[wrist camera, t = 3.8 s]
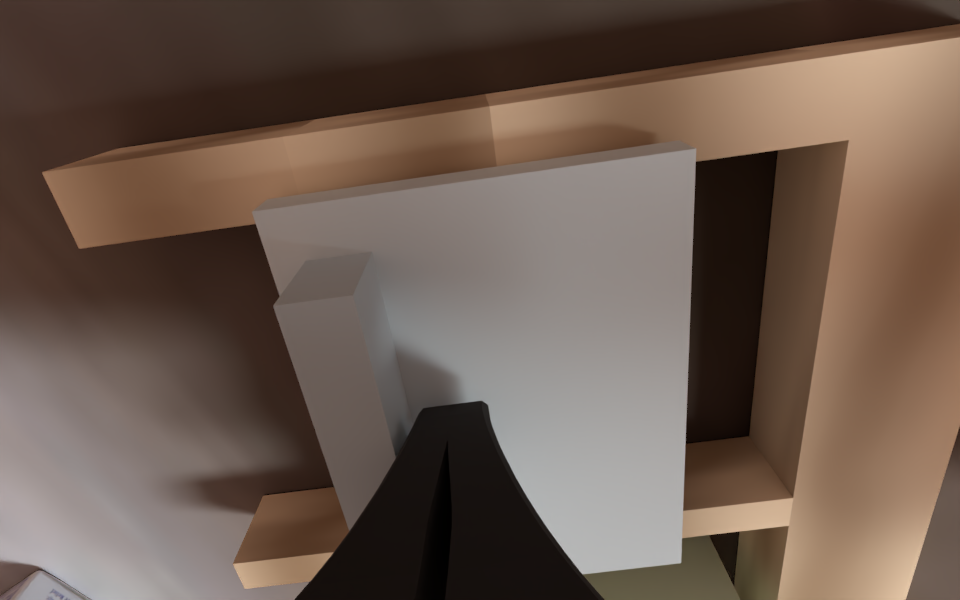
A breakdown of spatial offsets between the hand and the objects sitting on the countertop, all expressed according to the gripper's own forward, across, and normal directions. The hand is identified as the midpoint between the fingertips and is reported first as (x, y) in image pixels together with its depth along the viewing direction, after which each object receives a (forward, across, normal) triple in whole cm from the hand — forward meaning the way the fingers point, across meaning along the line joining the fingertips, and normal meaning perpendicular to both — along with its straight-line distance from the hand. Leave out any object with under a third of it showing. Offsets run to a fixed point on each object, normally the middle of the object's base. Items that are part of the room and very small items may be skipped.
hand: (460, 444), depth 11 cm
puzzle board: (+4, -2, +6) cm, 8 cm away
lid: (+1, -1, 0) cm, 2 cm away
